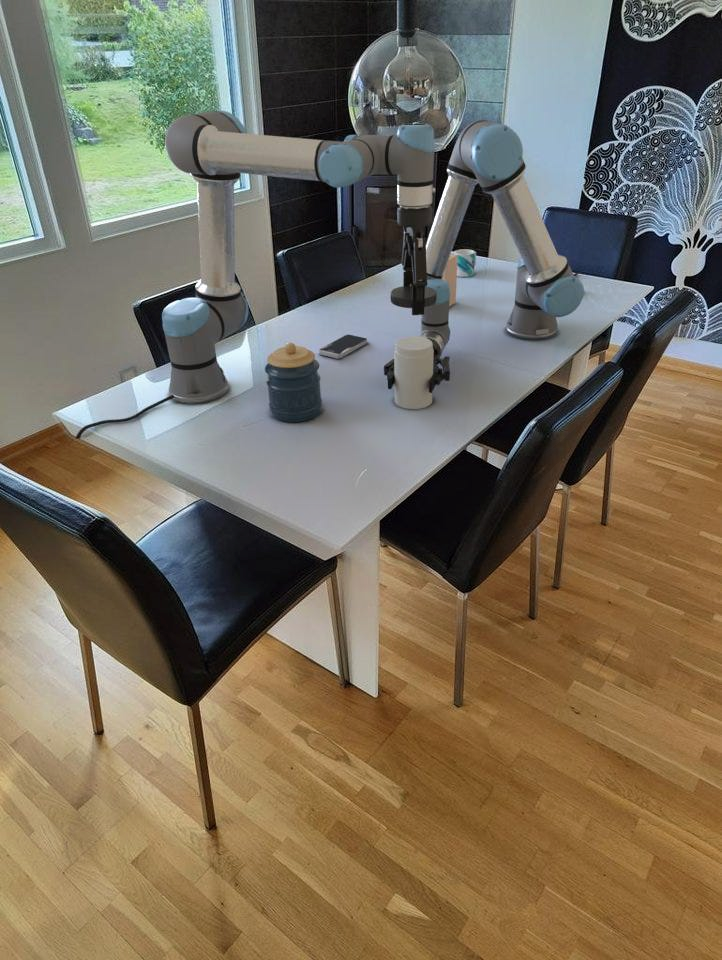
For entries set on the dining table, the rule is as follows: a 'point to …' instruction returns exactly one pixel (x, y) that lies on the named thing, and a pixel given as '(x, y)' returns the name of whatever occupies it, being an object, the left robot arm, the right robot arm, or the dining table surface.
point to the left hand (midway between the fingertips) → (413, 306)
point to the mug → (465, 262)
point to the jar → (413, 372)
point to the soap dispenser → (451, 277)
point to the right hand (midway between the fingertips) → (409, 385)
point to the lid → (404, 296)
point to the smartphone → (342, 346)
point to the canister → (293, 384)
